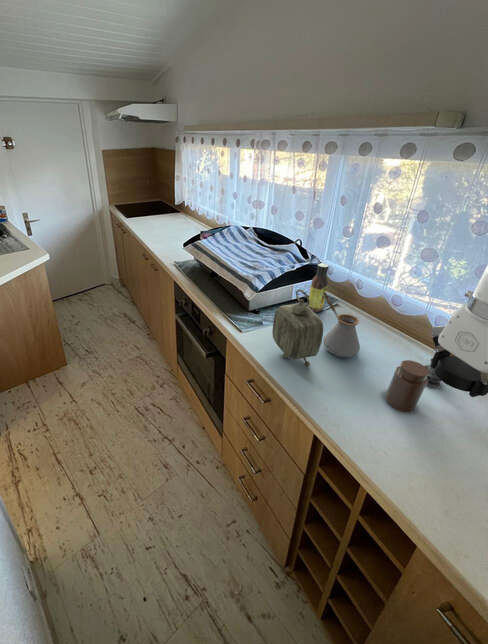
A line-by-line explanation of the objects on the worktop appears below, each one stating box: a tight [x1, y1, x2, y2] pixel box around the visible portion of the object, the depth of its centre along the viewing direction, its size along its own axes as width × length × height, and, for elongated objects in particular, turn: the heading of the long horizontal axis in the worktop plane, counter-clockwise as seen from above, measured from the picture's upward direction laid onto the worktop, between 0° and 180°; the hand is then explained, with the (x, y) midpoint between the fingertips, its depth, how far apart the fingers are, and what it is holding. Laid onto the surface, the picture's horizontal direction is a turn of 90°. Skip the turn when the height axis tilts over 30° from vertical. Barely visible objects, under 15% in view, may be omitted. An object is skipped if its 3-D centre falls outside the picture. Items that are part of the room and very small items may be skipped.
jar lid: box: [434, 354, 481, 393], centre depth 63 cm, size 8×8×3 cm
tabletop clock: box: [271, 289, 324, 367], centre depth 97 cm, size 14×9×25 cm, turn 13°
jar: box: [384, 359, 429, 413], centre depth 83 cm, size 7×7×12 cm
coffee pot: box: [320, 291, 361, 358], centre depth 106 cm, size 21×12×15 cm, turn 9°
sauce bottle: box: [306, 262, 330, 313], centre depth 125 cm, size 6×6×20 cm
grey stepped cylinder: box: [424, 357, 442, 388], centre depth 90 cm, size 6×6×12 cm
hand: (455, 379), depth 64 cm, fingers closed on jar lid, 7 cm apart
